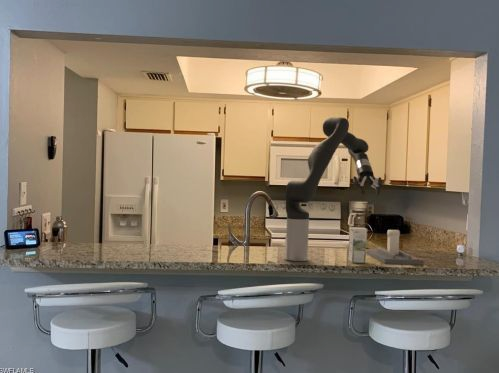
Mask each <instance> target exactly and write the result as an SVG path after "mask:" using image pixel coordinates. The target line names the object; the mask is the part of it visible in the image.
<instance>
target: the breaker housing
mask: <svg viewBox="0 0 499 373" xmlns="http://www.w3.org/2000/svg"><path fill="white" fill-rule="evenodd" d="M366 255H367V256H370V257H371V258H372V259H375V260H377V261H379V262H380V263H382V264H384V265H414V266H415V265H416V266H423V264H424V260H423V259H421V258H419V257H416V256H414V255H411V254H409V253H407V252H404V251H402V250H400V249H399V255H398V254H393V253H391V252H388V251H387V249H384V248H382V247H377V246H376V249H366Z"/></svg>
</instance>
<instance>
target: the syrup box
mask: <svg viewBox="0 0 499 373" xmlns="http://www.w3.org/2000/svg"><path fill="white" fill-rule="evenodd" d="M348 231H349V232H348V234H349V236H348V237H349V238H348V255H347V256H348V258H347V260H348V262H350V263H352V264H366V260H367V259H366V255H367V254H366V250H367V238H368V237H367V234H368V229H367V228H366V227H360V226H355V227H354V226H350V227H349V230H348Z"/></svg>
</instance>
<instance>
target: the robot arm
mask: <svg viewBox="0 0 499 373" xmlns="http://www.w3.org/2000/svg"><path fill="white" fill-rule="evenodd" d="M349 128H350V123H349V120H348V119H347V118H345V117H328V118H326V119H324V121H323V123H322V132H323V134H324V135H325V136H326V137H327V138H326V139H323V140H322V141H321V142H319V143H317V145H315V146H314V147H313V149H312V150H311V152H310V154H309V156H308V158H307V165H308V169H309V170H308V171H309V173H308V175H307V177H306V179H305V180H301V179H300V180H293V179H292V180H290V181H288V182H287V185H286V186H285V187H286V188H285V211H286V231H285V232H286V233H285V234H286V235H285V242H284V244H285V245H284V247H285V248H284V259H285V260H286V261H291V262H307V261H308V260H309V259H308V256H309V254H308V253H309V232H310V230H309V229H310V228H309V227H310V213H309V211H307V210H305V209H303V208H302V207H301V205H300V203H303V204H306V203H309V202H311V201H312V199H313V198H314V196H315V194H316V192H317V189H318V188H319V187H318V186H319V185H320V181H321V179H322V177H323V175H324V173H325V171H326V170H327V167H328V166H329V165H330V162H331V161H332V159H333V156H334V154H335V153H336V151H337V149H338V148H339V146H340V145H343V146H344V147H345V148H347V151H348V154H349V156H350V157H351V158H352V159H353V161H354V165H355V171H356V175H357V176H355V175H354V176H353V177H352V182H353V185H354V188H355V189H359V192H360V194H361V195H365V193H366V191H365V188H364V186H370V187H371V188H374V189H375V190H374V191H375V194H376V196H379V195H380V194H381V193H380V192H381V189H382V187H383V181H382V177H380V176H379V177H378V178H377V177H375V174H374V171H373V168H372V165H371V162H370V160H369V156H368V155H367V152H368V151H369V147H370V146H369V144H368V142H367V141H366V140H365V139H362V138H359V137H356V135H355V134H353V133H351V132H349ZM359 182H360V183H359Z"/></svg>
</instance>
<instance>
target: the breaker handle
mask: <svg viewBox="0 0 499 373" xmlns="http://www.w3.org/2000/svg"><path fill="white" fill-rule="evenodd" d="M400 235H401V231H400V230H399V229H388V230H387V232H386V236H387V240H386V241H387V242H386V243H387V245H386V248H387V249H386V250H387V251H388V252H391V253H393V254H398V255H399V250H400Z"/></svg>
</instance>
